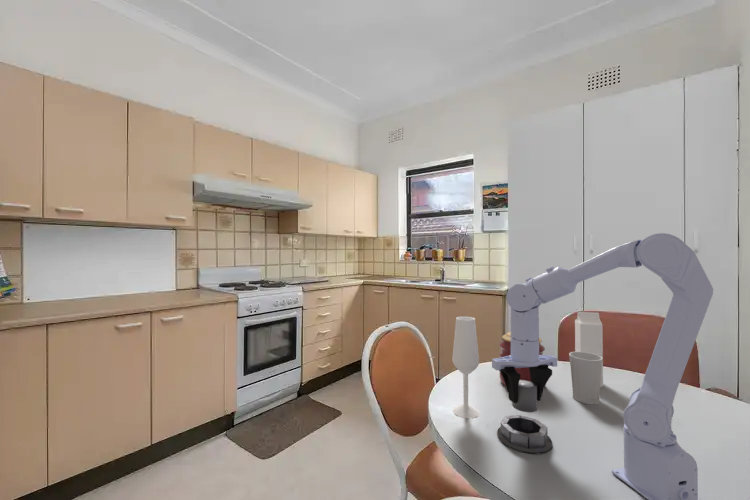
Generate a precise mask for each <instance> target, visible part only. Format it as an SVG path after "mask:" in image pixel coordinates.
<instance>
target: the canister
mask: <svg viewBox="0 0 750 500" xmlns="http://www.w3.org/2000/svg"><path fill="white" fill-rule="evenodd" d="M501 338H502V339H503V340H501V341H500V342H499V344H498V345H499V347H500V352H499V358H501V357H505V356H509V355H511V331H508V332H507V333H505V334H503V335H502V336H501ZM542 341H543V340H542V338H540V337H539V355H544V352H545V349H546V347H545V346H544V345H542V344H541V343H542ZM515 370H516V372H517V373H519V374H520V375H521V377H520V380H526V381H530V382H531V376H530V371H529V367H523V368H515ZM499 379H500V383H501V384H502V385H503V386H505V387H506V385H505V382H504V379H503V377H502V375H501V373H500V372H499Z"/></svg>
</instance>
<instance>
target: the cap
mask: <svg viewBox="0 0 750 500" xmlns="http://www.w3.org/2000/svg"><path fill="white" fill-rule="evenodd" d="M511 402H512V401H511ZM511 405H512V407H513V408H514V409H516V410H517V411H520V412H523V413H534V412H537V411H538V401H537V385H536V384H535V383H533V382H530V381H526V380H519V385H518V401H517V403H513V402H512V403H511Z"/></svg>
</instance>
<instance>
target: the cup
mask: <svg viewBox="0 0 750 500" xmlns="http://www.w3.org/2000/svg"><path fill="white" fill-rule="evenodd" d="M568 357H569V365H570V376H571V384H572V385H571V387H572V398H573V399H574V400H575V401H577V402H579V403H583V404H586V405H587V404H588V405H598V404H600V399H601V398H600V394H601V392H600V391H601V387H600V383H601V371H602V363H603V364H604V357H603V358H602V357H601V356H599V355H596V354H592V353H587V352H575V351H570V352H569V353H568Z"/></svg>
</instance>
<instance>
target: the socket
mask: <svg viewBox="0 0 750 500" xmlns="http://www.w3.org/2000/svg"><path fill="white" fill-rule="evenodd" d="M548 431H549V430H548V427H547V426H546V425H545V424H543V423H542V422H541V421H540V420H538V419H536V418H533V417H529V416H525V415H522V414H520V415H519V414H515V415H513V414H511V415H505V416H504V417H503V419H502V420H501V421H500V427H498V429H497V430H496V435H497V438H498V440H499V441H500V442H501V443H502V445H504V446H506V447H508V448H510V449H512V450H514V451H515V452H516V451H517V452H520V453H523V454H527V455H528V454H530V455H541V454H546V453H548V452H549V451H551V450H552V448H553V441H552V439H551V438H550V436H549V435H548Z"/></svg>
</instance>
